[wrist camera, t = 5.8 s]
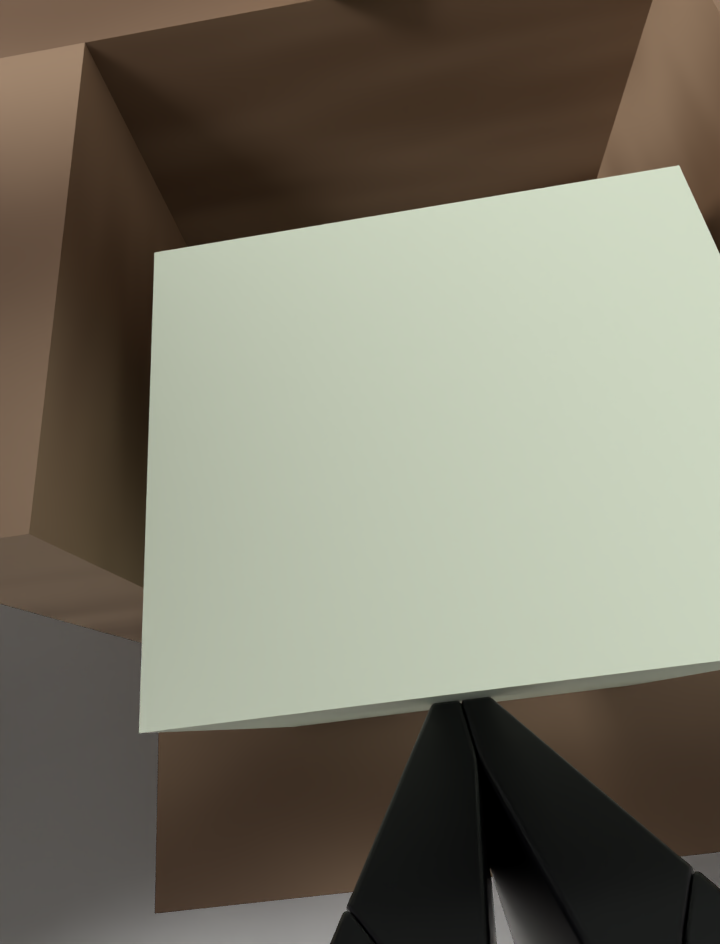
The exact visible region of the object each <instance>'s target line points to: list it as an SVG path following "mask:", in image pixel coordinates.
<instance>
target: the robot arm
mask: <svg viewBox="0 0 720 944" xmlns="http://www.w3.org/2000/svg"><path fill="white" fill-rule="evenodd" d="M490 869H491V871H490ZM491 873H492V876H493V879H494V883H495V886H496V889H497V892H498V895H499V898H500V901H501V904H502V907H503V910H504V913H505V917H506V920H507V923H508V926H509V929H510V932H511V935H512V938H513V941H514V944H720V888H718V887H717V886H716V885H715V884H714V883H712V882H711V881H710V880H709V879H708V878H706V877H705V876H704V875H703V874H702V873H700V872H695V873H694V870H693V868H692V866H691V865H689V864H688V863H687V862H686V861H685V860H683V859H682V858H681V857H680V856H679V855H678V854H676V853H675V852H674V851H673V850H672V849H670V848H669V847H668V846H667V845H666V844H664V843H663V842H662V841H661V840H660V839H659V838H657V837H656V836H655V835H654V834H653V833H651V832H650V831H649V830H648V829H647V828H646V827H644V826H643V825H642V824H641V823H640V822H638V821H637V820H636V819H635V818H634V817H632V816H631V815H630V814H629V813H628V812H627V811H625V810H624V809H623V808H622V807H621V806H619V805H618V804H617V803H616V802H615V801H614V800H612V799H611V798H610V797H609V796H608V795H606V794H605V793H604V792H603V791H602V790H600V789H599V788H598V787H597V786H596V785H595V784H593V783H592V782H591V781H590V780H589V779H587V778H586V777H585V776H584V775H583V774H581V773H580V772H579V771H578V770H577V769H576V768H574V767H573V766H572V765H571V764H570V763H568V762H567V761H566V760H565V759H564V758H563V757H561V756H560V755H559V754H558V753H557V752H555V751H554V750H553V749H552V748H551V747H549V746H548V745H547V744H546V743H545V742H544V741H542V740H541V739H540V738H539V737H538V736H536V735H535V734H534V733H533V732H532V731H530V730H529V729H528V728H527V727H526V726H525V725H523V724H522V723H521V722H520V721H519V720H517V719H516V718H515V717H514V716H513V715H512V714H510V713H509V712H508V711H507V710H506V709H504V708H503V707H502V706H501V705H500V704H498V703H497V702H496V701H495V700H494V699H492V698H491V697H482V698H474V699H466V700H463V701H462V703H460V702H459V701H450V702H442V703H434V704H432V705H431V707H430V709H429V711H428V714H427V716H426V718H425V721H424V723H423V725H422V728H421V730H420V733H419V735H418V737H417V740H416V742H415V745H414V747H413V749H412V752H411V754H410V757H409V759H408V761H407V764H406V766H405V768H404V771H403V773H402V776H401V778H400V780H399V783H398V785H397V788H396V790H395V792H394V795H393V797H392V800H391V802H390V804H389V807H388V809H387V811H386V814H385V816H384V819H383V821H382V823H381V826H380V828H379V831H378V833H377V835H376V838H375V840H374V843H373V845H372V847H371V850H370V852H369V854H368V857H367V859H366V862H365V864H364V866H363V869H362V871H361V874H360V876H359V878H358V881H357V883H356V885H355V888H354V890H353V893H352V895H351V897H350V900H349V902H348V905H347V911H346V912H344V913H343V914H342V917H341V919H340V921H339V924H338V926H337V929H336V931H335V933H334V936H333V938H332V940H331V943H330V944H497V940H496V928H495V916H494V903H493V891H492V881H491ZM693 873H694V874H693Z"/></svg>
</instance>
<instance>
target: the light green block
mask: <svg viewBox="0 0 720 944" xmlns="http://www.w3.org/2000/svg"><path fill="white" fill-rule="evenodd" d="M717 670H720V254H719V251H718V249H717V247H716V245H715V243H714V240H713V238H712V236H711V234H710V232H709V230H708V227H707V225H706V223H705V221H704V219H703V216H702V214H701V212H700V210H699V208H698V205H697V203H696V201H695V199H694V197H693V195H692V192H691V190H690V188H689V186H688V184H687V181H686V179H685V177H684V175H683V173H682V170H681V168H680V166H679V165H678V166H672V167H666V168H660V169H654V170H648V171H642V172H636V173H630V174H624V175H618V176H612V177H606V178H600V179H594V180H588V181H582V182H576V183H570V184H564V185H558V186H552V187H546V188H540V189H534V190H528V191H522V192H516V193H510V194H504V195H498V196H492V197H486V198H480V199H474V200H468V201H462V202H455V203H449V204H443V205H437V206H431V207H425V208H419V209H413V210H407V211H401V212H395V213H389V214H383V215H377V216H371V217H365V218H359V219H353V220H347V221H341V222H335V223H329V224H323V225H317V226H311V227H305V228H299V229H293V230H287V231H281V232H275V233H269V234H263V235H257V236H251V237H245V238H239V239H233V240H227V241H221V242H215V243H209V244H203V245H197V246H191V247H185V248H179V249H173V250H167V251H161V252H155V253H154V283H153V314H152V344H151V375H150V406H149V437H148V467H147V498H146V529H145V559H144V590H143V621H142V651H141V682H140V713H139V733H156V732H181V731H206V730H231V729H256V728H281V727H297V726H305V725H314V724H322V723H330V722H338V721H346V720H354V719H362V718H370V717H378V716H386V715H395V714H403V713H411V712H419V711H427V710H429V709H430V707H431V705H432V704H434V703H442V702H450V701H459V702H460V703H462V701H463V700H466V699H474V698H482V697H491V698H492V699H494V700H495V701H496V702H500V701H508V700H516V699H524V698H532V697H540V696H549V695H557V694H565V693H573V692H581V691H589V690H597V689H605V688H613V687H622V686H630V685H637V684H643V683H649V682H654V681H660V680H666V679H671V678H677V677H683V676H688V675H694V674H700V673H705V672H711V671H717Z"/></svg>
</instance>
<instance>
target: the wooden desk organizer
mask: <svg viewBox="0 0 720 944" xmlns="http://www.w3.org/2000/svg"><path fill="white" fill-rule="evenodd" d="M678 165H679V166H680V168H681V170H682V173H683V175H684V177H685V179H686V181H687V184H688V186H689V188H690V190H691V192H692V195H693V197H694V199H695V201H696V203H697V205H698V208H699V210H700V212H701V214H702V216H703V219H704V221H705V223H706V225H707V227H708V230H709V232H710V234H711V236H712V238H713V240H714V243H715V245H716V247H717V249H718V251H719V254H720V0H0V604H3V605H6V606H10V607H14V608H17V609H21V610H25V611H28V612H32V613H35V614H39V615H43V616H46V617H50V618H53V619H57V620H61V621H64V622H68V623H72V624H75V625H79V626H82V627H86V628H90V629H93V630H97V631H100V632H104V633H108V634H111V635H115V636H119V637H122V638H126V639H129V640H133V641H137V642H140V643H142V621H143V590H144V559H145V529H146V498H147V467H148V437H149V406H150V375H151V344H152V314H153V283H154V253H155V252H161V251H167V250H173V249H179V248H185V247H191V246H197V245H203V244H209V243H215V242H221V241H227V240H233V239H239V238H245V237H251V236H257V235H263V234H269V233H275V232H281V231H287V230H293V229H299V228H305V227H311V226H317V225H323V224H329V223H335V222H341V221H347V220H353V219H359V218H365V217H371V216H377V215H383V214H389V213H395V212H401V211H407V210H413V209H419V208H425V207H431V206H437V205H443V204H449V203H455V202H462V201H468V200H474V199H480V198H486V197H492V196H498V195H504V194H510V193H516V192H522V191H528V190H534V189H540V188H546V187H552V186H558V185H564V184H570V183H576V182H582V181H588V180H594V179H600V178H606V177H612V176H618V175H624V174H630V173H636V172H642V171H648V170H654V169H660V168H666V167H672V166H678ZM497 703H498V704H500V705H501V706H502V707H503V708H504V709H506V710H507V711H508V712H509V713H510V714H512V715H513V716H514V717H515V718H516V719H517V720H519V721H520V722H521V723H522V724H523V725H525V726H526V727H527V728H528V729H529V730H530V731H532V732H533V733H534V734H535V735H536V736H538V737H539V738H540V739H541V740H542V741H544V742H545V743H546V744H547V745H548V746H549V747H551V748H552V749H553V750H554V751H555V752H557V753H558V754H559V755H560V756H561V757H563V758H564V759H565V760H566V761H567V762H568V763H570V764H571V765H572V766H573V767H574V768H576V769H577V770H578V771H579V772H580V773H581V774H583V775H584V776H585V777H586V778H587V779H589V780H590V781H591V782H592V783H593V784H595V785H596V786H597V787H598V788H599V789H600V790H602V791H603V792H604V793H605V794H606V795H608V796H609V797H610V798H611V799H612V800H614V801H615V802H616V803H617V804H618V805H619V806H621V807H622V808H623V809H624V810H625V811H627V812H628V813H629V814H630V815H631V816H632V817H634V818H635V819H636V820H637V821H638V822H640V823H641V824H642V825H643V826H644V827H646V828H647V829H648V830H649V831H650V832H651V833H653V834H654V835H655V836H656V837H657V838H659V839H660V840H661V841H662V842H663V843H664V844H666V845H667V846H668V847H669V848H670V849H672V850H673V851H674V852H675V853H676V854H678V855H679V856H688V855H697V854H707V853H716V852H720V670H717V671H711V672H705V673H700V674H694V675H688V676H683V677H677V678H671V679H666V680H660V681H654V682H649V683H643V684H637V685H630V686H622V687H613V688H605V689H597V690H589V691H581V692H573V693H565V694H557V695H549V696H540V697H532V698H524V699H516V700H508V701H500V702H497ZM428 711H429V710H427V711H419V712H411V713H403V714H395V715H386V716H378V717H370V718H362V719H354V720H346V721H338V722H330V723H322V724H314V725H305V726H297V727H281V728H256V729H231V730H206V731H181V732H159V736H158V784H157V833H156V882H155V913H163V912H173V911H182V910H191V909H200V908H209V907H219V906H228V905H237V904H246V903H256V902H265V901H274V900H283V899H292V898H302V897H311V896H320V895H329V894H338V893H348V892H353V890H354V888H355V885H356V883H357V881H358V878H359V876H360V874H361V871H362V869H363V866H364V864H365V862H366V859H367V857H368V854H369V852H370V850H371V847H372V845H373V843H374V840H375V838H376V835H377V833H378V831H379V828H380V826H381V823H382V821H383V819H384V816H385V814H386V811H387V809H388V807H389V804H390V802H391V800H392V797H393V795H394V792H395V790H396V788H397V785H398V783H399V780H400V778H401V776H402V773H403V771H404V768H405V766H406V764H407V761H408V759H409V757H410V754H411V752H412V749H413V747H414V745H415V742H416V740H417V737H418V735H419V733H420V730H421V728H422V725H423V723H424V721H425V718H426V716H427V714H428ZM490 871H491V869H490ZM491 877H493V876H492V873H491Z"/></svg>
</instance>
